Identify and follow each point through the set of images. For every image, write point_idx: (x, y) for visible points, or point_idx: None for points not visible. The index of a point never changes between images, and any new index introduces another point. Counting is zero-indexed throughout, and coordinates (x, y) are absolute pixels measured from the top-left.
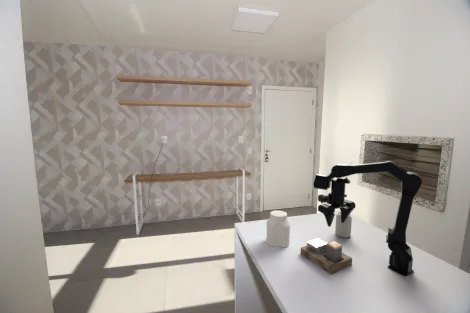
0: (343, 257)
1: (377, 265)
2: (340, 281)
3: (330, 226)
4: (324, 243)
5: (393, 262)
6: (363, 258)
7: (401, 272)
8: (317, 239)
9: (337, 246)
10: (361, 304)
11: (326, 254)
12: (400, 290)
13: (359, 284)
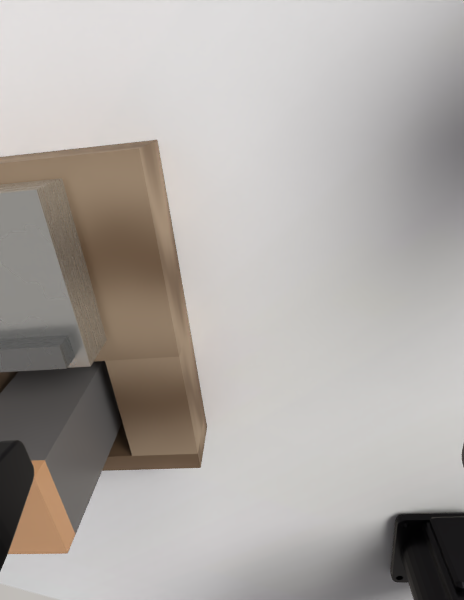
0: (140, 441)
1: (364, 483)
2: None
3: (29, 483)
4: (12, 354)
5: (422, 573)
6: (363, 411)
7: (401, 567)
8: (14, 211)
9: None
10: (19, 577)
11: (2, 397)
12: (254, 596)
13: (104, 525)
